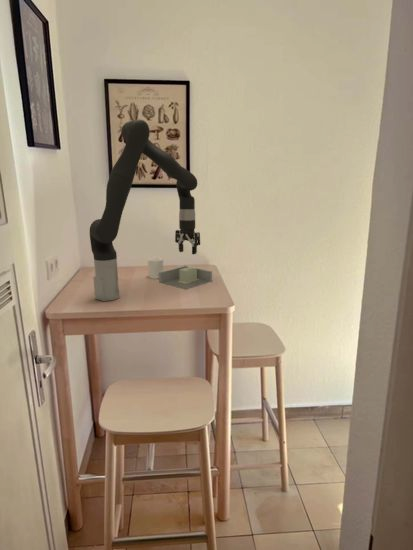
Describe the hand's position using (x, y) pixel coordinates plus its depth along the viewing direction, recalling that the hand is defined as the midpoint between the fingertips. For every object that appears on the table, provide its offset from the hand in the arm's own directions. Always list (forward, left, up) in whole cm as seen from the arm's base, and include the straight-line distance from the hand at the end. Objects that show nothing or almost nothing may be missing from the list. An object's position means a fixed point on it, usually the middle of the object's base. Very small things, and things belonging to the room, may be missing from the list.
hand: (187, 253), depth 180 cm
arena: (-2, -1, -15) cm, 15 cm away
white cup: (-5, +17, -15) cm, 23 cm away
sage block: (0, 0, -14) cm, 14 cm away
